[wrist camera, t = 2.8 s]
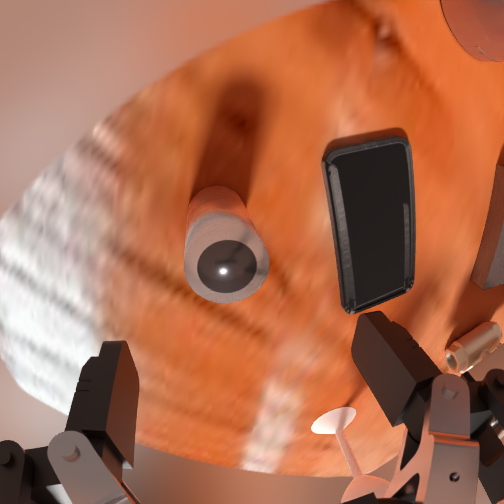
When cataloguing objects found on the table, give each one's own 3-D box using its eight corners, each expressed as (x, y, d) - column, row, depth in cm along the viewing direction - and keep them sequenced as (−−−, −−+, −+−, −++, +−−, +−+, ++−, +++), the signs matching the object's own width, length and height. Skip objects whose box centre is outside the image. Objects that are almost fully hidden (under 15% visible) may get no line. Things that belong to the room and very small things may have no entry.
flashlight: (185, 187, 20) (179, 230, 13) (244, 183, 21) (270, 224, 14) (190, 241, 22) (188, 306, 15) (244, 237, 23) (268, 299, 15)
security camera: (414, 384, 37) (472, 474, 21) (420, 348, 33) (496, 450, 17) (495, 332, 37) (556, 398, 22) (506, 293, 33) (580, 362, 18)
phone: (345, 317, 27) (322, 153, 20) (340, 310, 28) (316, 150, 21) (414, 289, 27) (411, 134, 20) (408, 283, 28) (402, 133, 21)
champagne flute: (352, 425, 38) (410, 555, 17) (309, 438, 38) (360, 577, 16) (360, 401, 35) (433, 548, 14) (313, 414, 35) (375, 576, 13)
